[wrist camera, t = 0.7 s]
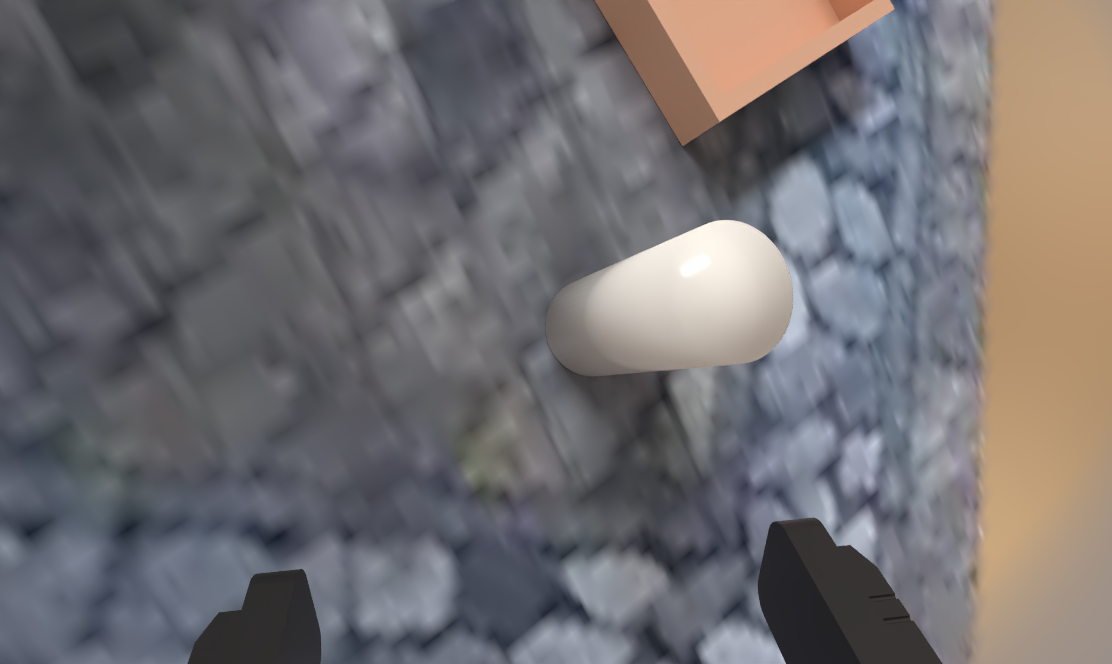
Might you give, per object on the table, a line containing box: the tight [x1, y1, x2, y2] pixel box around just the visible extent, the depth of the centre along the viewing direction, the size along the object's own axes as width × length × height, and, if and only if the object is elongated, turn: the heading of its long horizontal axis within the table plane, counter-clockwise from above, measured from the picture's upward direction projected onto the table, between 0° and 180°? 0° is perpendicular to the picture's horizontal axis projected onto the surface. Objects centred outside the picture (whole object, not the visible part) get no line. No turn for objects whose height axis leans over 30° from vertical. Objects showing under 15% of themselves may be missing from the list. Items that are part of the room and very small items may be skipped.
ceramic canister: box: [545, 220, 793, 376], centre depth 29 cm, size 5×5×12 cm
